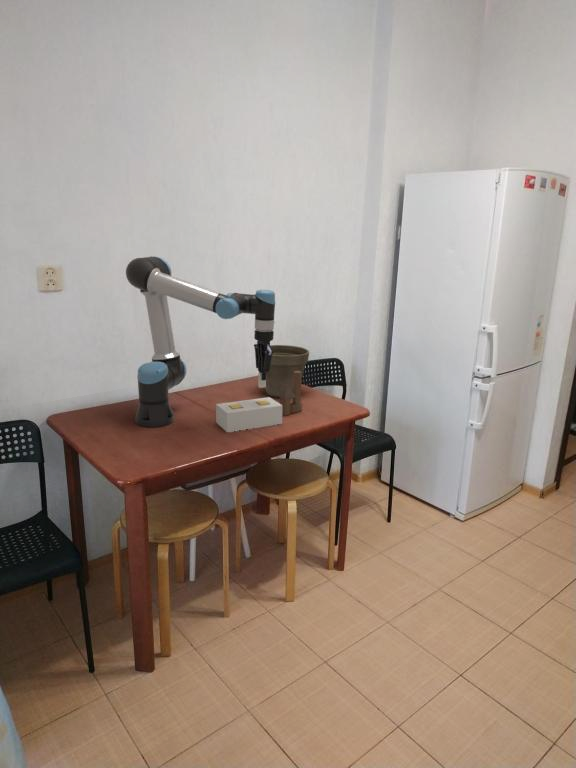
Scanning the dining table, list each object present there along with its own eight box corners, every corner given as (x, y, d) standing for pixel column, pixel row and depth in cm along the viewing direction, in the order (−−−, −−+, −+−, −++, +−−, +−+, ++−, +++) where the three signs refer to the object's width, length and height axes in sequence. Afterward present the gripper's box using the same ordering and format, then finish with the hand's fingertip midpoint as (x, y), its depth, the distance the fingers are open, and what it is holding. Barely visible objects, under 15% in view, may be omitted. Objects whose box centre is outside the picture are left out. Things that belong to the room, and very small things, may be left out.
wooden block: (278, 414, 231) (279, 373, 226) (296, 409, 238) (297, 369, 233) (284, 416, 228) (285, 375, 223) (302, 411, 236) (303, 371, 231)
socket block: (227, 432, 208) (227, 413, 206) (216, 422, 218) (216, 404, 216) (281, 423, 219) (282, 405, 217) (268, 414, 230) (269, 397, 227)
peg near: (232, 426, 213) (233, 408, 211) (229, 422, 217) (229, 405, 215) (242, 424, 215) (242, 407, 213) (238, 421, 219) (238, 404, 216)
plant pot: (288, 383, 277) (289, 342, 271) (317, 396, 257) (319, 352, 251) (246, 390, 263) (247, 347, 257) (273, 404, 244) (275, 357, 238)
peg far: (260, 421, 219) (260, 404, 217) (256, 418, 222) (256, 401, 220) (268, 420, 221) (269, 403, 219) (264, 417, 224) (265, 400, 222)
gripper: (280, 332, 207) (277, 390, 214) (265, 326, 218) (263, 381, 225) (262, 333, 204) (260, 392, 210) (248, 327, 215) (246, 383, 221)
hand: (261, 387), depth 218 cm, fingers closed
